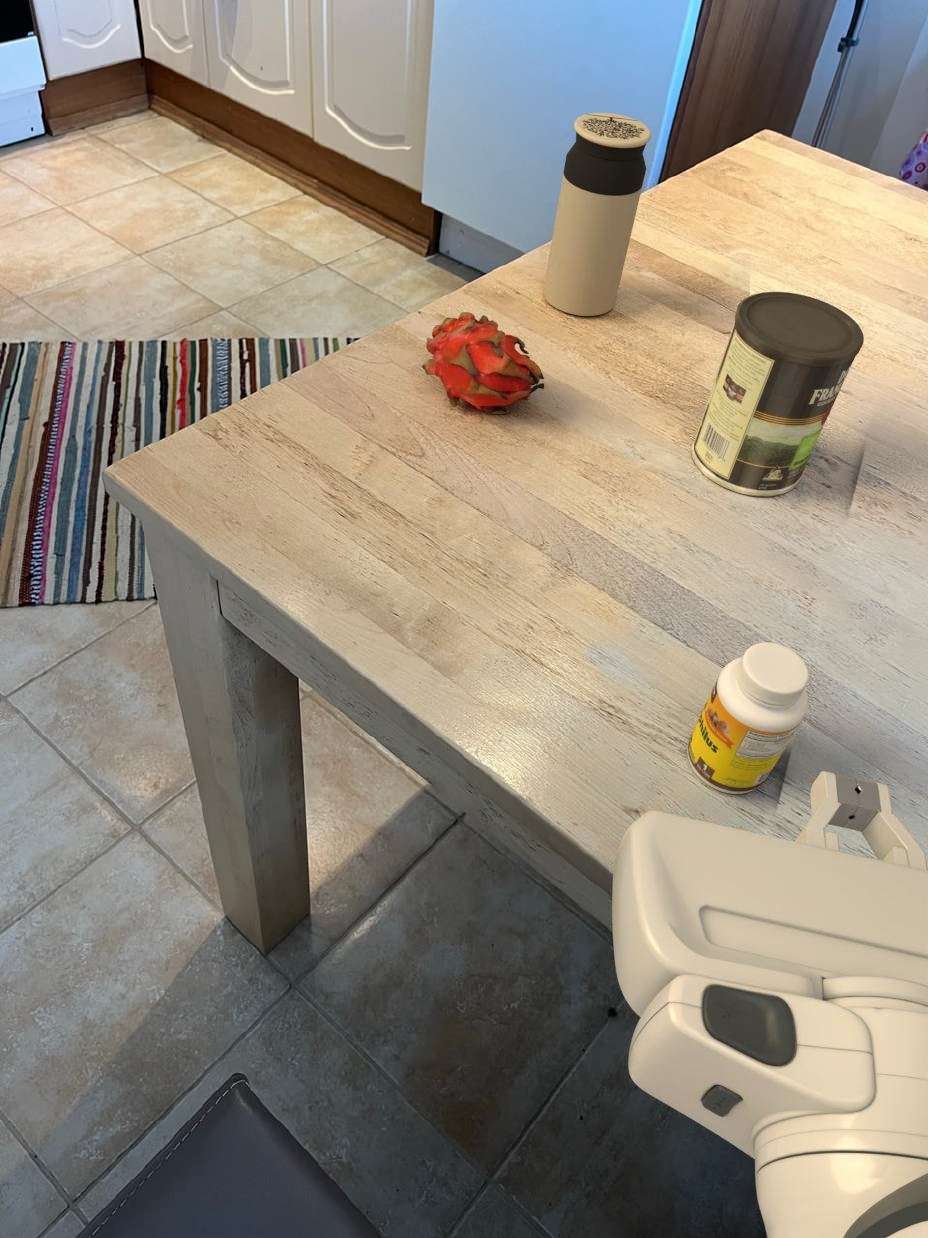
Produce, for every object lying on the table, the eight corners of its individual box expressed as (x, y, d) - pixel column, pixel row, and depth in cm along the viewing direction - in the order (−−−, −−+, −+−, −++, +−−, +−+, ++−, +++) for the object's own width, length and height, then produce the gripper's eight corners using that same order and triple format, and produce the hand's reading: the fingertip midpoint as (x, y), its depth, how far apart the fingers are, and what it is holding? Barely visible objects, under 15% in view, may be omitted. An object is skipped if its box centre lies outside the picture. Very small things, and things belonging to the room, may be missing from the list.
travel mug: (610, 324, 101) (651, 149, 88) (537, 310, 102) (567, 134, 88) (617, 289, 106) (656, 119, 93) (548, 275, 107) (577, 105, 94)
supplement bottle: (681, 724, 66) (725, 625, 58) (760, 734, 66) (815, 637, 58) (687, 793, 62) (735, 697, 54) (771, 803, 62) (831, 709, 54)
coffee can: (818, 460, 88) (882, 323, 78) (773, 513, 82) (836, 373, 72) (720, 413, 92) (769, 276, 81) (670, 461, 86) (715, 320, 75)
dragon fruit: (418, 384, 93) (525, 440, 91) (392, 376, 85) (509, 437, 83) (456, 302, 91) (566, 358, 89) (433, 285, 83) (554, 347, 81)
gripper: (1242, 1151, 31) (1121, 797, 40) (624, 1007, 32) (647, 694, 41) (1123, 1195, 36) (1039, 868, 45) (587, 1068, 37) (615, 774, 46)
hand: (848, 784), depth 43 cm, fingers closed
